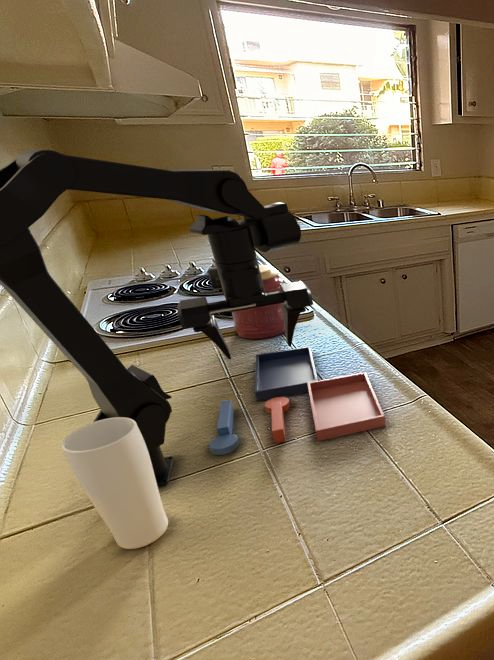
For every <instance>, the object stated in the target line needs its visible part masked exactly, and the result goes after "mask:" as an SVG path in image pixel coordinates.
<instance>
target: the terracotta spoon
mask: <svg viewBox="0 0 494 660" xmlns="http://www.w3.org/2000/svg"><path fill="white" fill-rule="evenodd" d="M264 407H265V408H264V409H265V411H266V413H268V414H270V415H271V434H272V436H273V441H274V444H279V443H284V442H286V441H287V440H286V427H285V415H284V413H285V412H287V411H289V410H290V408H291V402H290V399H289V398H288V397H287V396H283V397H276V398H272V399H267V401H266V402H265V403H264Z"/></svg>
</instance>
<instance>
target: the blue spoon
mask: <svg viewBox="0 0 494 660" xmlns="http://www.w3.org/2000/svg"><path fill="white" fill-rule="evenodd" d="M234 418H235V409H234V404H233V401H232V399H227V400H221V401H220V406H219V411H218V418H217V424H216V431H217V434H218V435H217V436H216V437H213V439H211V440H210V441H209V443H208V447H209V450H210V453H211V454H212V455H215V456H223V455H228V454H230V453H232V452H234V451H235V450H237V449H238V448H239V447H240V441H239V438H238V436H237V435H236V434H234V433H233V428H234Z"/></svg>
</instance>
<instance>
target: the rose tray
mask: <svg viewBox="0 0 494 660" xmlns="http://www.w3.org/2000/svg"><path fill="white" fill-rule="evenodd" d="M307 385H308V391H309V392H308V396H309V401H310V409H311V413H312V418H313V423H314V429H315V434H316V440H317V442H320V441H324V440H329V439H334V438H339V437H343V436H348V435H351V434H357V433H360V432H361V433H362V432H365V431H370V430H374V429H379V428H383V427H386V426H387V422H386V415H385V413H384V411H383V408H382V406H381V404H380V402H379V399H378V397H377V394H376V392H375V390H374V387H373V385H372V383H371V381H370V379H369V376H368V374H367V372H366V371H364V372H359V373H353V374H347V375H341V376H336V377H331V378H326V379H320V380H319V379H318V381H314V382H308V383H307Z"/></svg>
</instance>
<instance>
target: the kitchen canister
mask: <svg viewBox="0 0 494 660" xmlns="http://www.w3.org/2000/svg"><path fill="white" fill-rule="evenodd" d="M259 268H260V273H261V277H262V281H263V285H264V289H265V293H271V292H277V291H281V290H280V284H285V280H284V279H283V278H282V277H280V276H278V275H279V270H277V269H276V268H273V267H271V266H270V265H267V264H259ZM231 316H232V321H233V327H234V330H235V331H236V334H237V335H238V337H241V338H243V339H249V340H250V339H251V340H259V339H260V340H261V339H267V338H272V337H277V336H279V335H282V334H285V325H284V314H283V308H282V303H279V304H273V305H267V306H262V307H256V308H251V309H245V310H239V311H234V312H231Z"/></svg>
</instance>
